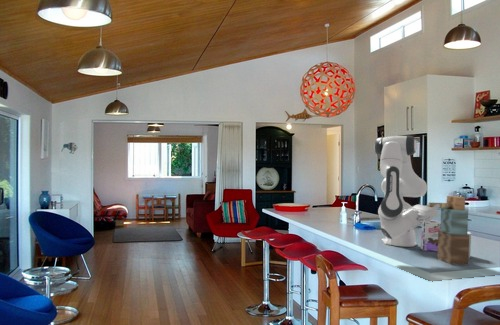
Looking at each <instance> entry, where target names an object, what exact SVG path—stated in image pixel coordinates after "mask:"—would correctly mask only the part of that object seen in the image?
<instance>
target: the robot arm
mask: <svg viewBox="0 0 500 325" xmlns="http://www.w3.org/2000/svg"><path fill="white" fill-rule="evenodd" d="M373 147H374V148H373V149H374V152H375V154H376V155H377V156H378V157H380V159H379V160H380V161H379V170H380V175H381V176H382V177H383V178H384V179H383V180H382V182H381V184H380V188H381V191H382V193H383V194H384V197H383V199H382V201H381V202H380V205H379V207H378V209H377V214H378V217H379V220H380V221H379V222H380V230H381V232H382V234H383V235H384V237H385V238H381V241H382V242H383V243H384V245H388V246H389V245H390V246H396V247H407V248H408V247H409V248H410V247H415V246H418V242H416V230H414V229H416V228H417V227H419V226H422V221H425V222H426V221H429V220H434V219H435V218H437V217H439V216H440V213H439V210H438V209H440V208H439V207H440V205H439V204H435V206H433V207H428V204H426V205H423V204H420V203H419V204H415V205H411V204H409V203H408V202H406V201H405V200H404V197H405V198H406V197H407V198H419V197H424V196H425V195H426V194H427V192H428V185H427V182H426V181H425V180H424V179H423V178H421V177H419V175H417V173H415V171H414V169H413V166H412V160H411V156H412V155H414V154H415V153H416V152H417V149H418V142H417V139H416V138H415V136H412V135H394V136H393V135H390V136H385V137H383V136H381V137H378V138H377V139H375V142H374V145H373Z"/></svg>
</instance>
